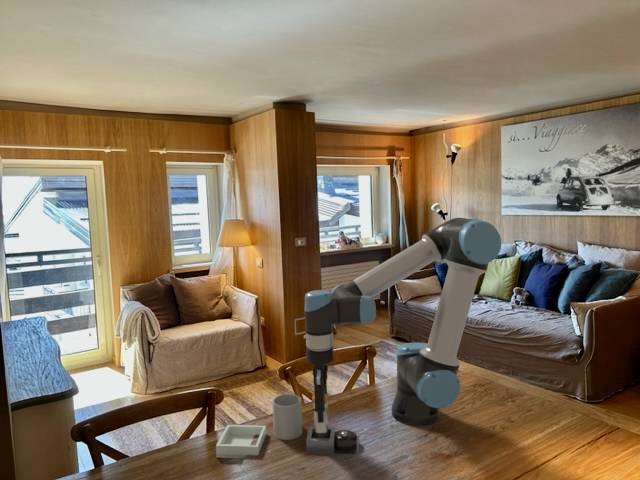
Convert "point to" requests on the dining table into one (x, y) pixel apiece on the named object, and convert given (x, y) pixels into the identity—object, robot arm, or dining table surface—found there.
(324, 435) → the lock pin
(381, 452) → the dining table surface
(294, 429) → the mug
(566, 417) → the dining table surface
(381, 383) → the dining table surface
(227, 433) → the tray
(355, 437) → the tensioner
